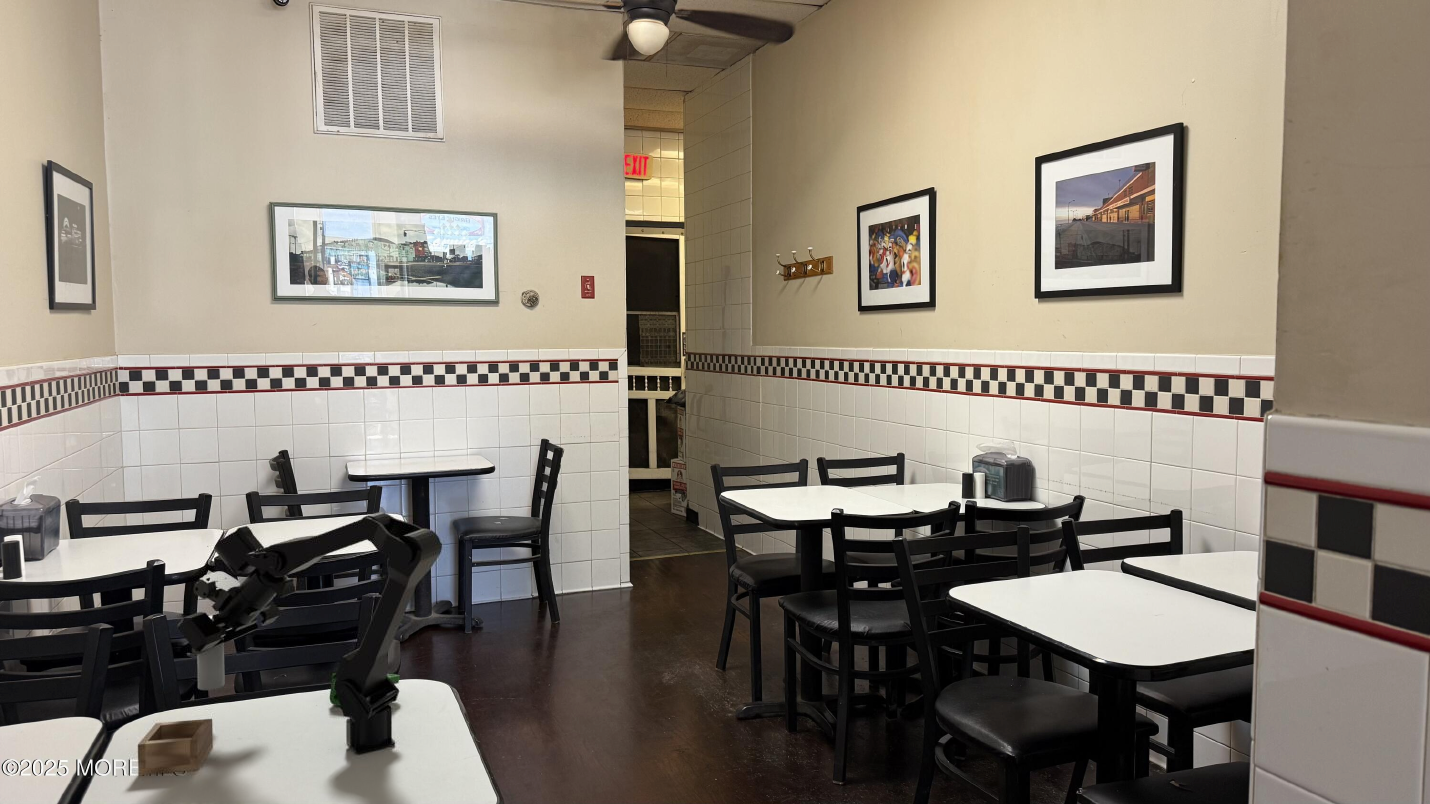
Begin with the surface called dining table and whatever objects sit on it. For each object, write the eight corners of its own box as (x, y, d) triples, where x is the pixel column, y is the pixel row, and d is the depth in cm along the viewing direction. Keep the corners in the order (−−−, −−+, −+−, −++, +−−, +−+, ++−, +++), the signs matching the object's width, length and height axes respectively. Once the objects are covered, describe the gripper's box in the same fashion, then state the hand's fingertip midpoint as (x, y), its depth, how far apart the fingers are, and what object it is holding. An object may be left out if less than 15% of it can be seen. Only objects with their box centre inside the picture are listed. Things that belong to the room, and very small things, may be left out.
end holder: (212, 747, 156) (212, 718, 155) (197, 769, 148) (197, 739, 147) (156, 752, 154) (156, 722, 153) (138, 775, 145) (137, 744, 145)
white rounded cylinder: (221, 679, 168) (219, 612, 167) (227, 686, 165) (226, 617, 164) (195, 685, 165) (194, 616, 165) (201, 691, 162) (199, 622, 162)
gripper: (264, 548, 172) (216, 601, 175) (185, 571, 154) (132, 630, 157) (301, 592, 171) (252, 645, 174) (226, 621, 152) (172, 680, 156)
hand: (204, 649), depth 165 cm, fingers closed on white rounded cylinder, 4 cm apart
